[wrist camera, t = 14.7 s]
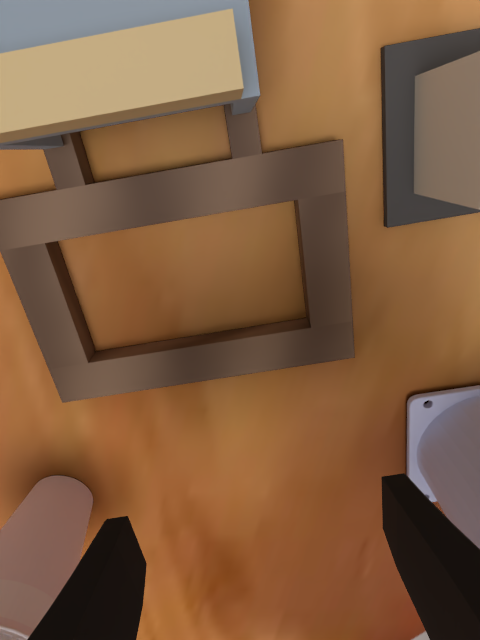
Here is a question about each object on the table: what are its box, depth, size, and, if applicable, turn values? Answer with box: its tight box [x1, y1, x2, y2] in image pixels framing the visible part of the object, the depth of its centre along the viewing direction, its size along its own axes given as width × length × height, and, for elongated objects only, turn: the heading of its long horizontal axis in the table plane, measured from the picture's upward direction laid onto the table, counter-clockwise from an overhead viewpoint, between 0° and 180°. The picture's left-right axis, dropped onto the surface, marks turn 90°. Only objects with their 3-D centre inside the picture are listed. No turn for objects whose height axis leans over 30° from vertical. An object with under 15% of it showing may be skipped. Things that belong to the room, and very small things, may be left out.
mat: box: [381, 28, 480, 228], centre depth 17 cm, size 7×7×1 cm
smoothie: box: [0, 476, 93, 640], centre depth 18 cm, size 6×6×14 cm
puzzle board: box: [0, 104, 355, 403], centre depth 17 cm, size 15×20×1 cm
